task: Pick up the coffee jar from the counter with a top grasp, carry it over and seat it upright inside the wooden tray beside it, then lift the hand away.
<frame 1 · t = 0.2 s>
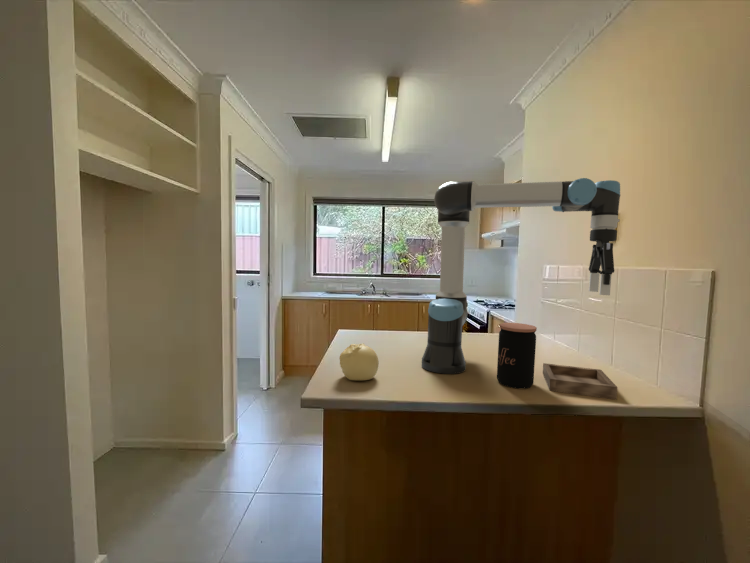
hand: (598, 293, 119), 28 cm above the countertop, tool pointing down, fingers open, 13 cm apart
wooden tray: (576, 385, 111), on the countertop
coffee jar: (514, 383, 111), on the countertop
sculpture: (358, 378, 111), on the countertop
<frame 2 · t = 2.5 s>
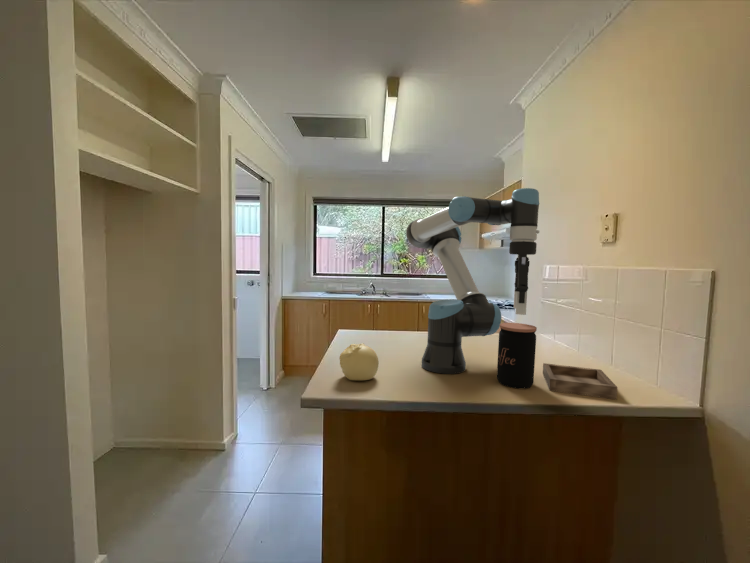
hand: (519, 311, 109), 22 cm above the countertop, tool pointing down, fingers open, 13 cm apart
nothing on the countertop moved.
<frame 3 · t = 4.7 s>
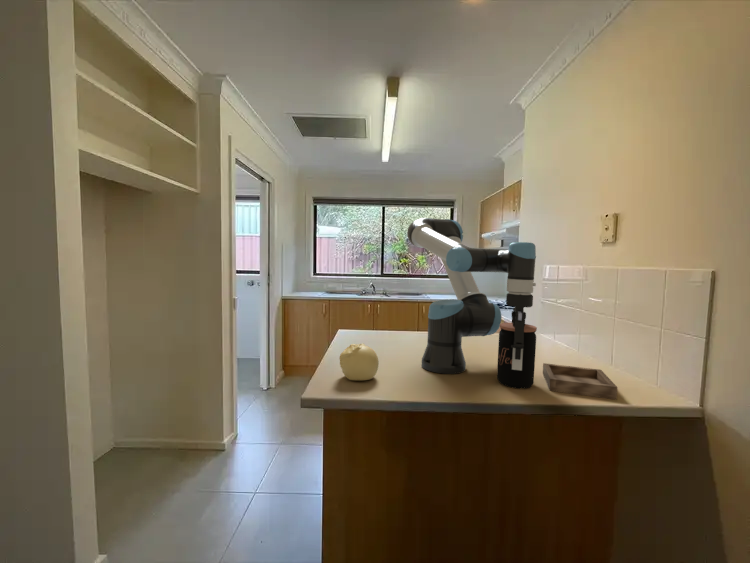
hand: (515, 364, 110), 6 cm above the countertop, tool pointing down, fingers closed on coffee jar, 11 cm apart
coffee jar: (514, 383, 111), on the countertop, touching gripper
everything else where it was.
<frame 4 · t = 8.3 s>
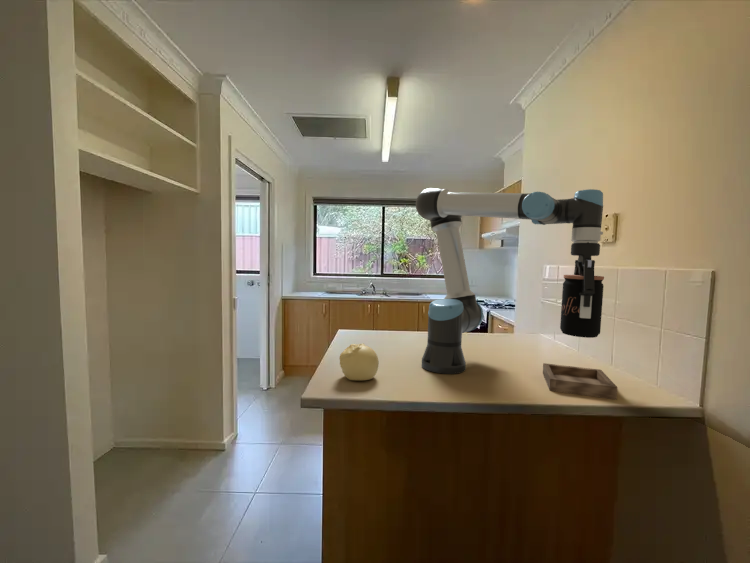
hand: (580, 315, 109), 22 cm above the countertop, tool pointing down, fingers closed on coffee jar, 11 cm apart
coffee jar: (579, 334, 110), point 16 cm above the countertop, touching gripper
everything else where it was.
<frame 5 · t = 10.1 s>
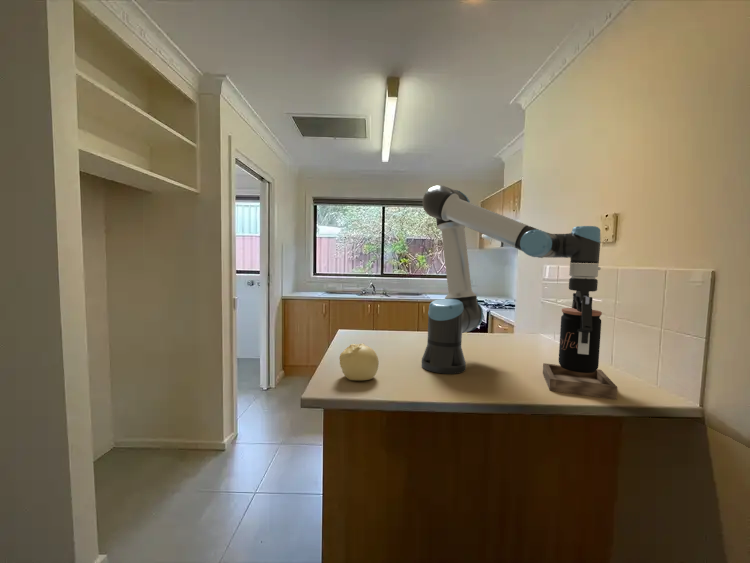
hand: (578, 349, 110), 11 cm above the countertop, tool pointing down, fingers closed on coffee jar, 11 cm apart
coffee jar: (577, 368, 110), point 5 cm above the countertop, touching gripper
everything else where it was.
when the fingers open (8 cm above the countertop, at t = 11.7 s): coffee jar drops 1 cm, resting on wooden tray.
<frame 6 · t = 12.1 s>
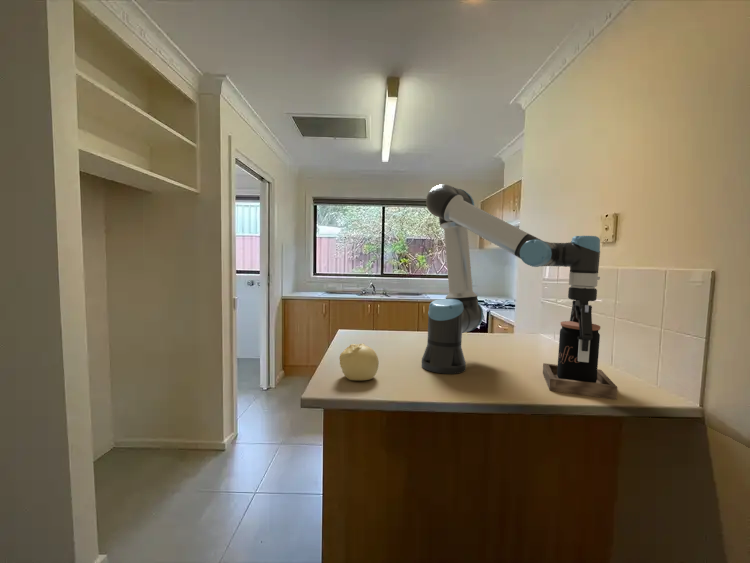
hand: (578, 355, 110), 9 cm above the countertop, tool pointing down, fingers open, 13 cm apart
coffee jar: (575, 382, 111), point 1 cm above the countertop, touching wooden tray
everything else where it was.
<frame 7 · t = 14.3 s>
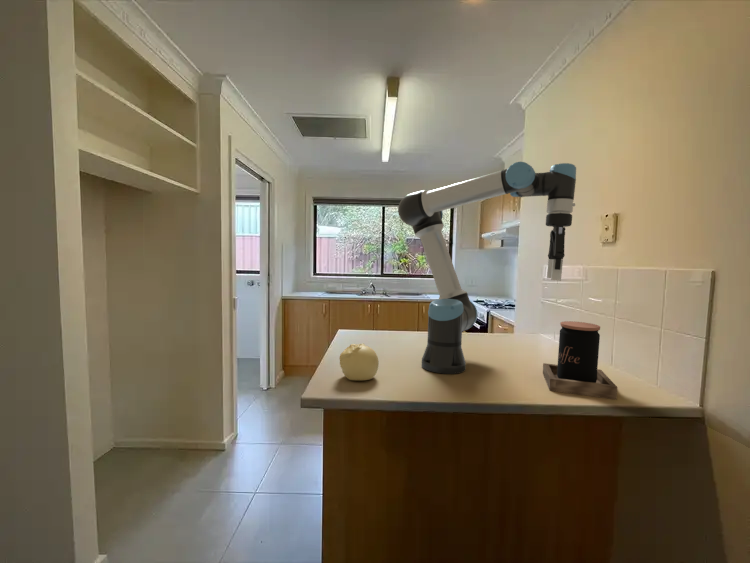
hand: (553, 279, 117), 32 cm above the countertop, tool pointing down, fingers open, 13 cm apart
nothing on the countertop moved.
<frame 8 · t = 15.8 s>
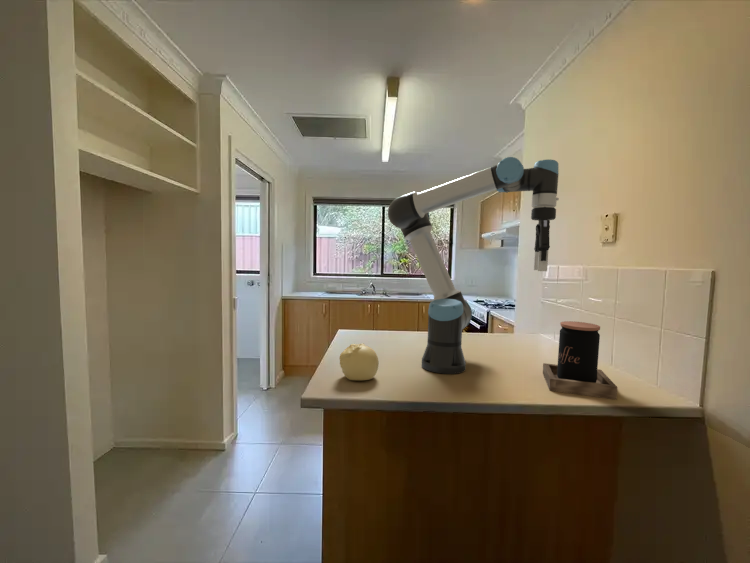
hand: (540, 270, 122), 35 cm above the countertop, tool pointing down, fingers open, 13 cm apart
nothing on the countertop moved.
at the end: coffee jar 0.1 cm off-centre on the wooden tray, point 0.8 cm above the wooden tray's base; coffee jar tilted 0°; the gripper is holding nothing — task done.
